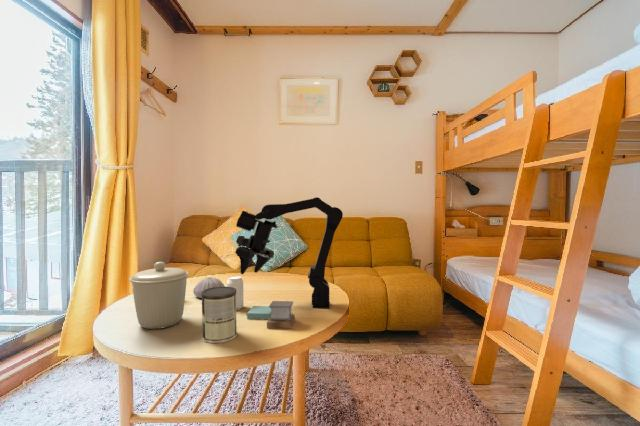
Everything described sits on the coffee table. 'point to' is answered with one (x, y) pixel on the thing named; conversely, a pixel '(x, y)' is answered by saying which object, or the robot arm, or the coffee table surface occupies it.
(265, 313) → the stand
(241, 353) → the coffee table surface
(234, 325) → the coffee can
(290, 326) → the brown flat square block
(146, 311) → the canister
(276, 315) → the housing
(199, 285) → the sea urchin shell
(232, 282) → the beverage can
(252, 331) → the coffee table surface
